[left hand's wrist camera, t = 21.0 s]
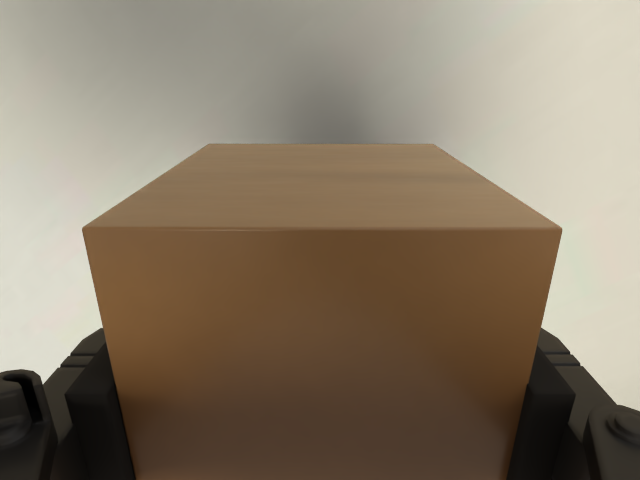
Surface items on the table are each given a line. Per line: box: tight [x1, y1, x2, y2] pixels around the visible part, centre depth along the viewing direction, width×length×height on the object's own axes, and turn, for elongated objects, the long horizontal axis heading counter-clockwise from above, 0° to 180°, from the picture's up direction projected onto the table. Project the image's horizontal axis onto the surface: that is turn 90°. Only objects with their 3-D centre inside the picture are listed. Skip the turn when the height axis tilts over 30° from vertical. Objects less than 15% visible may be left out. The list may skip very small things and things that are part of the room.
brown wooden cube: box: [82, 144, 562, 480], centre depth 12 cm, size 9×8×8 cm
